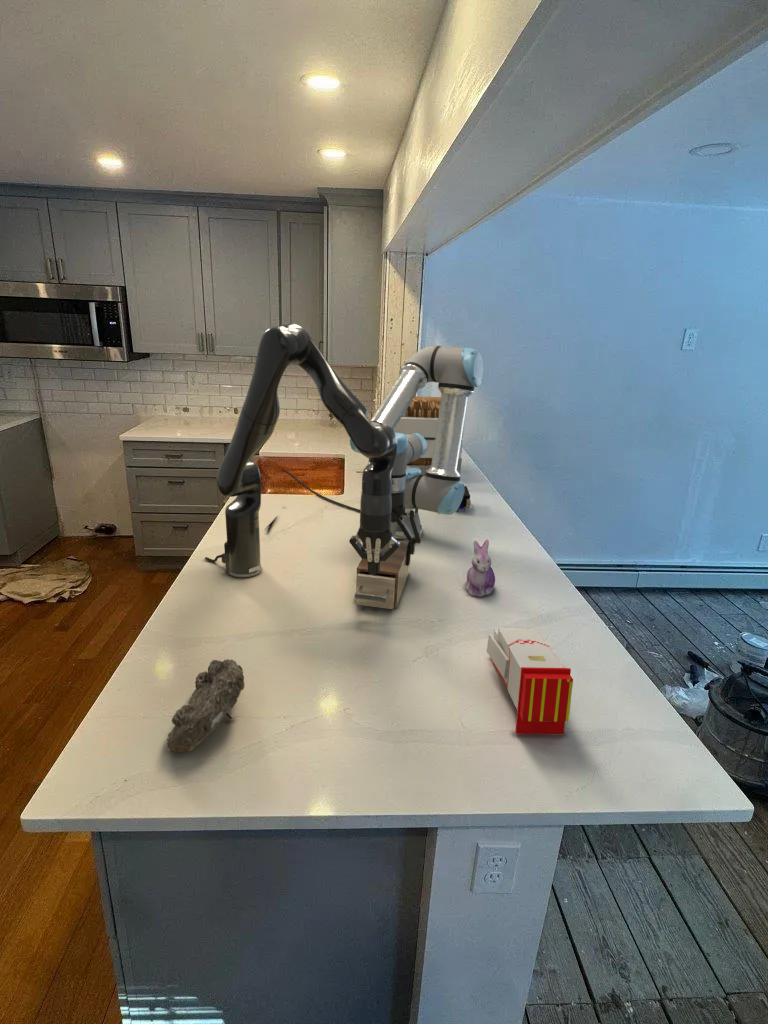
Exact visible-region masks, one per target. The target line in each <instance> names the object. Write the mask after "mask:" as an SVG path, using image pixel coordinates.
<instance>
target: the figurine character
mask: <svg viewBox="0 0 768 1024" xmlns="http://www.w3.org/2000/svg"><path fill="white" fill-rule="evenodd" d="M464 486H465V487H464V489H465V490H464V495H463V499H462V501H461V504H460V506H459V507H458V509H457V510H456V512H460V510H463V511H464V513H466V512H467V509H470V508H471V505H472V504H471V501H472V500H471V494H470V491H469V488H468V486H467V485H464ZM466 508H467V509H466Z"/></svg>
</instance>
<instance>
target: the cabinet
mask: <svg viewBox="0 0 768 1024" xmlns="http://www.w3.org/2000/svg"><path fill="white" fill-rule="evenodd" d="M408 542H409V541H400V545H399V547H398V548H397V549H396V550H395V551H394V552H393V554H392V555H391V556H390V557H389V558H388V559H387V560H386V561H380V570H379V572H378V573H380V574H388V575H395V591H394V607H393V609H397V608H398V605H399V603H400V599H401V596H402V594H403V590H404V588H405V584H406V582H407V579H408V576H409V571H410V570H409V569H410V565H409V566H406V560H407V545H408ZM389 544H390V541H389V542H388V543H387V544H386V546H385V547H384V548H382V551H381V554H384V553H385V552H386V551H387V550H388V549H389V548H390V546H389ZM365 550H366V549H365ZM366 551H367V550H366ZM374 557H375V549H374ZM362 571H364V572H368V561H367V560H366V559H362V558H361V560H360V562H359V563H358V565H357V567H356V575H357V574H362ZM355 583H356V584H357V576H356V581H355Z"/></svg>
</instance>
